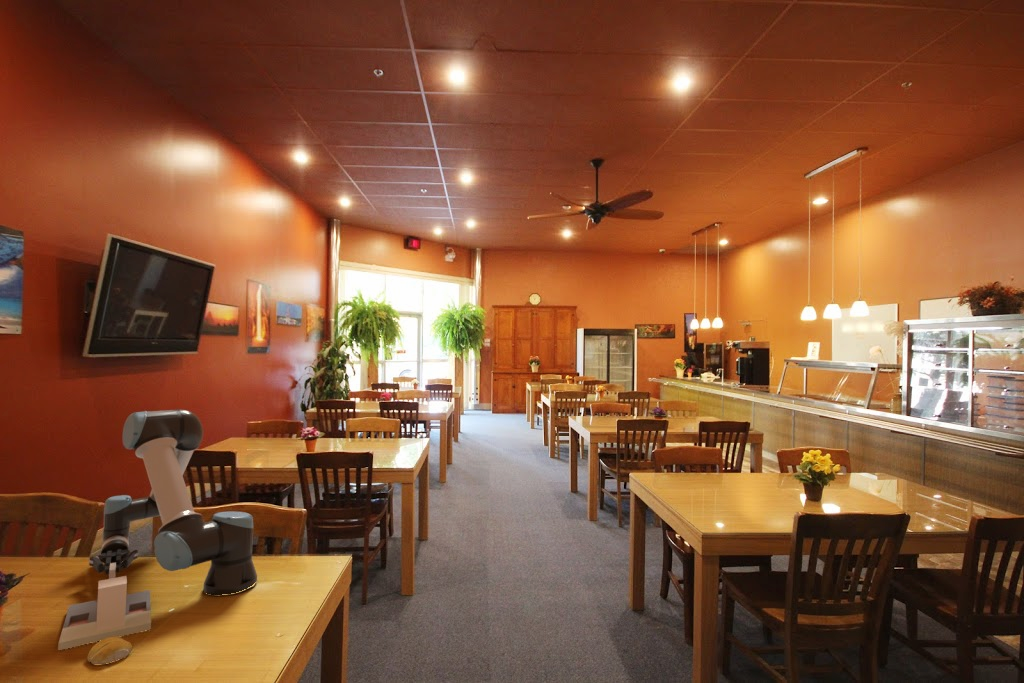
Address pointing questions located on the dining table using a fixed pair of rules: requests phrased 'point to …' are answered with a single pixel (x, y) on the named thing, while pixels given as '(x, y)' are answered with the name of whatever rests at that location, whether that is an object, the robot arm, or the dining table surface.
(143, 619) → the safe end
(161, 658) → the dining table surface
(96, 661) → the bread roll
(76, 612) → the board
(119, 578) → the cream block
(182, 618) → the dining table surface
